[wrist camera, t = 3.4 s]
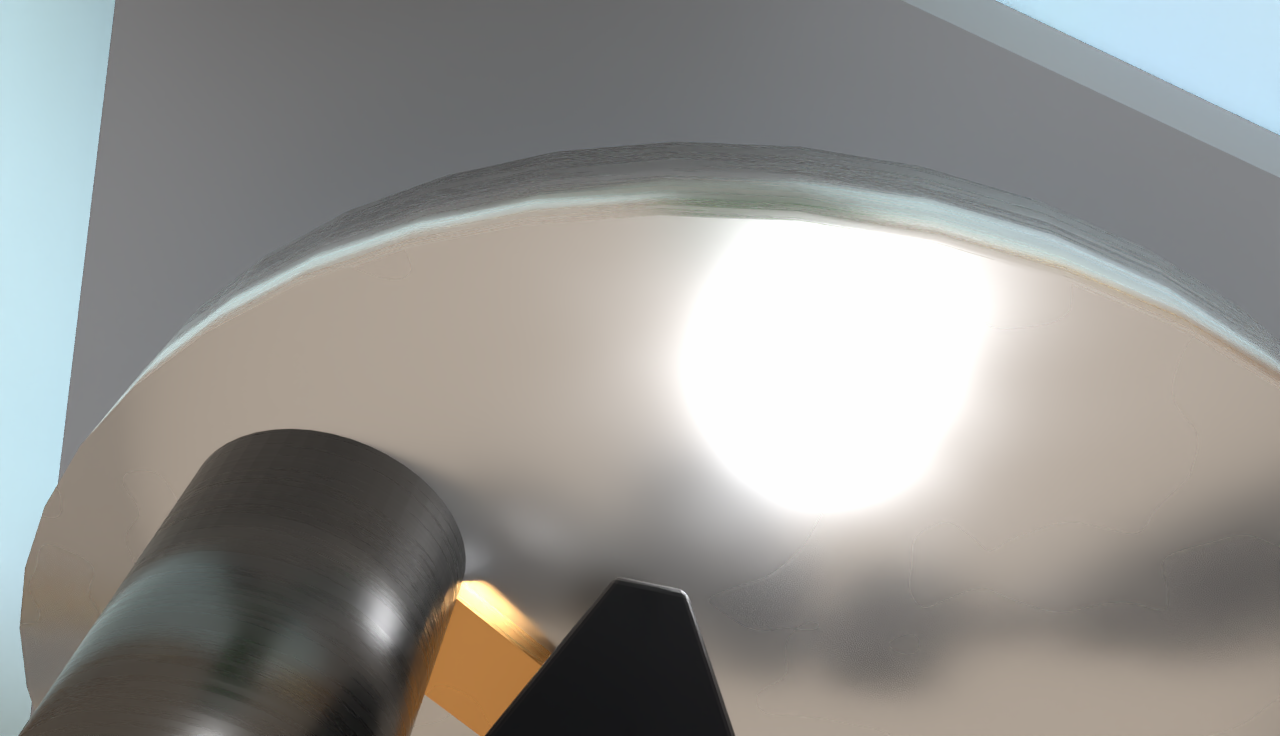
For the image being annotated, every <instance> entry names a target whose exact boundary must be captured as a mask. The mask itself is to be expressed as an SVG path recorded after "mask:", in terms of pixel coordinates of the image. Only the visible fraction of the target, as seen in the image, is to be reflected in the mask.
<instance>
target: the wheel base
mask: <svg viewBox="0 0 1280 736" xmlns="http://www.w3.org/2000/svg"><path fill="white" fill-rule="evenodd" d="M666 142H698V143H723V144H748V145H773V146H798V147H805V148H811V149H818V150H824V151H830V152H836V153H842V154H848V155H854V156H860V157H867V158H873V159H879V160H885V161H891V162H897V163H903V164H909V165H916V166H922V167H926V168H929V169H932V170H936V171H939V172H943V173H946V174H949V175H953V176H956V177H960V178H963V179H966V180H970V181H973V182H977V183H980V184H983V185H987V186H990V187H994V188H997V189H1000V190H1004V191H1007V192H1011V193H1014V194H1017V195H1021V196H1024V197H1028V198H1031V199H1034V200H1038V201H1041V202H1043V203H1045V204H1048V205H1050V206H1052V207H1054V208H1057V209H1059V210H1061V211H1063V212H1066V213H1068V214H1070V215H1072V216H1075V217H1077V218H1079V219H1081V220H1084V221H1086V222H1088V223H1090V224H1093V225H1095V226H1097V227H1099V228H1102V229H1104V230H1106V231H1109V232H1111V233H1113V234H1115V235H1118V236H1120V237H1122V238H1124V239H1127V240H1129V241H1131V242H1133V243H1136V244H1138V245H1140V246H1142V247H1145V248H1147V249H1148V250H1150V251H1152V252H1153V253H1155V254H1157V255H1158V256H1160V257H1161V258H1163V259H1165V260H1166V261H1168V262H1169V263H1171V264H1173V265H1174V266H1176V267H1177V268H1179V269H1181V270H1182V271H1184V272H1185V273H1187V274H1189V275H1190V276H1192V277H1193V278H1195V279H1197V280H1198V281H1200V282H1201V283H1203V284H1205V285H1206V286H1208V287H1209V288H1211V289H1213V290H1214V291H1216V292H1217V293H1219V294H1221V295H1222V296H1224V297H1225V298H1227V299H1229V300H1230V301H1232V302H1233V303H1235V304H1237V305H1238V306H1240V307H1241V308H1242V309H1243V310H1244V311H1245V312H1247V313H1248V314H1249V315H1250V316H1251V317H1252V318H1254V319H1255V320H1256V321H1257V322H1258V323H1259V324H1260V325H1262V326H1263V327H1264V328H1265V329H1266V330H1267V331H1269V332H1270V333H1271V334H1272V335H1273V336H1274V337H1276V338H1277V339H1278V340H1279V341H1280V135H1278V134H1275V133H1273V132H1271V131H1269V130H1267V129H1265V128H1263V127H1261V126H1259V125H1257V124H1254V123H1252V122H1250V121H1248V120H1246V119H1244V118H1242V117H1240V116H1238V115H1235V114H1233V113H1231V112H1229V111H1227V110H1225V109H1223V108H1221V107H1219V106H1217V105H1214V104H1212V103H1210V102H1208V101H1206V100H1204V99H1202V98H1200V97H1198V96H1196V95H1193V94H1191V93H1189V92H1187V91H1185V90H1183V89H1181V88H1179V87H1177V86H1174V85H1172V84H1170V83H1168V82H1166V81H1164V80H1162V79H1160V78H1158V77H1156V76H1153V75H1151V74H1149V73H1147V72H1145V71H1143V70H1141V69H1139V68H1137V67H1134V66H1132V65H1130V64H1128V63H1126V62H1124V61H1122V60H1120V59H1118V58H1116V57H1113V56H1111V55H1109V54H1107V53H1105V52H1103V51H1101V50H1099V49H1097V48H1094V47H1092V46H1090V45H1088V44H1086V43H1084V42H1082V41H1080V40H1078V39H1076V38H1073V37H1071V36H1069V35H1067V34H1065V33H1063V32H1061V31H1059V30H1057V29H1055V28H1052V27H1050V26H1048V25H1046V24H1044V23H1042V22H1040V21H1038V20H1036V19H1033V18H1031V17H1029V16H1027V15H1025V14H1023V13H1021V12H1019V11H1017V10H1015V9H1012V8H1010V7H1008V6H1006V5H1004V4H1002V3H1000V2H998V1H996V0H116V1H115V9H114V17H113V26H112V34H111V43H110V51H109V59H108V68H107V76H106V85H105V93H104V101H103V110H102V118H101V127H100V135H99V143H98V152H97V160H96V169H95V177H94V185H93V194H92V202H91V211H90V219H89V228H88V236H87V244H86V253H85V261H84V270H83V278H82V286H81V295H80V303H79V312H78V320H77V328H76V337H75V345H74V354H73V362H72V370H71V379H70V387H69V396H68V404H67V412H66V421H65V429H64V438H63V446H62V454H61V463H60V471H59V480H58V483H59V481H60V480H61V478H62V476H63V474H64V473H65V471H66V469H67V468H68V466H69V464H70V463H71V461H72V459H73V457H74V456H75V454H76V452H77V451H78V449H79V447H80V446H81V444H82V443H83V442H84V441H85V440H86V438H87V437H88V436H89V435H90V434H91V432H92V431H93V430H94V429H95V428H96V426H97V425H98V424H99V423H100V422H101V420H102V419H103V418H104V417H105V416H106V414H107V413H108V412H109V411H110V410H111V408H112V407H113V406H114V405H115V404H116V402H117V401H118V400H119V399H120V398H121V396H122V395H123V394H124V393H125V392H126V390H127V389H128V388H129V387H130V386H131V384H132V383H133V382H134V381H135V380H136V378H137V377H138V376H139V375H140V374H141V372H142V371H143V370H144V369H145V368H146V366H147V365H148V364H149V363H150V362H151V361H152V360H153V358H154V357H155V356H156V355H157V354H158V353H159V352H160V351H161V350H162V348H163V347H164V346H165V345H166V344H167V343H168V342H169V341H170V340H171V338H172V337H173V336H174V335H175V334H176V333H177V332H178V331H179V330H180V329H181V327H182V326H183V325H184V324H185V323H186V322H187V321H188V320H189V319H190V317H191V316H192V315H193V314H194V313H195V312H196V311H197V310H198V309H199V307H201V306H202V305H203V304H204V303H206V302H207V301H208V300H210V299H211V298H212V297H213V296H215V295H216V294H217V293H219V292H220V291H221V290H222V289H224V288H225V287H226V286H228V285H229V284H230V283H232V282H233V281H234V280H235V279H237V278H238V277H239V276H241V275H242V274H243V273H244V272H246V271H247V270H248V269H250V268H251V267H252V266H254V265H255V264H256V263H257V262H259V261H260V260H261V259H263V258H264V257H265V256H266V255H268V254H270V253H272V252H274V251H276V250H277V249H279V248H281V247H283V246H285V245H287V244H288V243H290V242H292V241H294V240H296V239H298V238H300V237H301V236H303V235H305V234H307V233H309V232H311V231H313V230H314V229H316V228H318V227H320V226H322V225H324V224H325V223H327V222H329V221H331V220H333V219H335V218H337V217H338V216H340V215H342V214H344V213H346V212H348V211H350V210H352V209H355V208H358V207H361V206H363V205H366V204H369V203H372V202H374V201H377V200H380V199H383V198H385V197H388V196H391V195H394V194H396V193H399V192H402V191H405V190H407V189H410V188H413V187H416V186H418V185H421V184H424V183H427V182H430V181H432V180H435V179H438V178H441V177H443V176H446V175H450V174H455V173H459V172H464V171H469V170H473V169H478V168H483V167H487V166H492V165H497V164H501V163H506V162H511V161H515V160H520V159H525V158H529V157H534V156H539V155H543V154H548V153H553V152H558V151H570V150H582V149H594V148H606V147H618V146H630V145H642V144H654V143H666ZM34 712H35V710H34V707H33V704H32V707H31V715H30V718H31V716H32V715H33V713H34Z"/></svg>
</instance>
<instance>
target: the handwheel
mask: <svg viewBox="0 0 1280 736" xmlns="http://www.w3.org/2000/svg"><path fill="white" fill-rule="evenodd" d="M618 577H625V578H630V579H635V580H640V581H645V582H650V583H654V584H659V585H664V586H669V587H673V588H678V589H681V590H683V591H684V592H685V593H686V594H687V595H688V597H689V599H690V601H691V604H692V607H693V610H694V613H695V616H696V619H697V622H698V625H699V628H700V631H701V634H702V637H703V640H704V643H705V646H706V649H707V652H708V655H709V658H710V661H711V664H712V667H713V670H714V673H715V676H716V679H717V682H718V685H719V688H720V691H721V694H722V697H723V700H724V703H725V706H726V709H727V712H728V715H729V718H730V721H731V724H732V727H733V730H734V733H735V736H1280V341H1279V340H1278V339H1277V338H1276V337H1274V336H1273V335H1272V334H1271V333H1270V332H1269V331H1267V330H1266V329H1265V328H1264V327H1263V326H1262V325H1260V324H1259V323H1258V322H1257V321H1256V320H1255V319H1254V318H1252V317H1251V316H1250V315H1249V314H1248V313H1247V312H1245V311H1244V310H1243V309H1242V308H1241V307H1240V306H1238V305H1237V304H1235V303H1233V302H1232V301H1230V300H1229V299H1227V298H1225V297H1224V296H1222V295H1221V294H1219V293H1217V292H1216V291H1214V290H1213V289H1211V288H1209V287H1208V286H1206V285H1205V284H1203V283H1201V282H1200V281H1198V280H1197V279H1195V278H1193V277H1192V276H1190V275H1189V274H1187V273H1185V272H1184V271H1182V270H1181V269H1179V268H1177V267H1176V266H1174V265H1173V264H1171V263H1169V262H1168V261H1166V260H1165V259H1163V258H1161V257H1160V256H1158V255H1157V254H1155V253H1153V252H1152V251H1150V250H1148V249H1147V248H1145V247H1142V246H1140V245H1138V244H1136V243H1133V242H1131V241H1129V240H1127V239H1124V238H1122V237H1120V236H1118V235H1115V234H1113V233H1111V232H1109V231H1106V230H1104V229H1102V228H1099V227H1097V226H1095V225H1093V224H1090V223H1088V222H1086V221H1084V220H1081V219H1079V218H1077V217H1075V216H1072V215H1070V214H1068V213H1066V212H1063V211H1061V210H1059V209H1057V208H1054V207H1052V206H1050V205H1048V204H1045V203H1043V202H1041V201H1038V200H1034V199H1031V198H1028V197H1024V196H1021V195H1017V194H1014V193H1011V192H1007V191H1004V190H1000V189H997V188H994V187H990V186H987V185H983V184H980V183H977V182H973V181H970V180H966V179H963V178H960V177H956V176H953V175H949V174H946V173H943V172H939V171H936V170H932V169H929V168H926V167H922V166H916V165H909V164H903V163H897V162H891V161H885V160H879V159H873V158H867V157H860V156H854V155H848V154H842V153H836V152H830V151H824V150H818V149H811V148H805V147H798V146H773V145H748V144H723V143H698V142H666V143H654V144H642V145H630V146H618V147H606V148H594V149H582V150H570V151H558V152H553V153H548V154H543V155H539V156H534V157H529V158H525V159H520V160H515V161H511V162H506V163H501V164H497V165H492V166H487V167H483V168H478V169H473V170H469V171H464V172H459V173H455V174H450V175H446V176H443V177H441V178H438V179H435V180H432V181H430V182H427V183H424V184H421V185H418V186H416V187H413V188H410V189H407V190H405V191H402V192H399V193H396V194H394V195H391V196H388V197H385V198H383V199H380V200H377V201H374V202H372V203H369V204H366V205H363V206H361V207H358V208H355V209H352V210H350V211H348V212H346V213H344V214H342V215H340V216H338V217H337V218H335V219H333V220H331V221H329V222H327V223H325V224H324V225H322V226H320V227H318V228H316V229H314V230H313V231H311V232H309V233H307V234H305V235H303V236H301V237H300V238H298V239H296V240H294V241H292V242H290V243H288V244H287V245H285V246H283V247H281V248H279V249H277V250H276V251H274V252H272V253H270V254H268V255H266V256H265V257H264V258H263V259H261V260H260V261H259V262H257V263H256V264H255V265H254V266H252V267H251V268H250V269H248V270H247V271H246V272H244V273H243V274H242V275H241V276H239V277H238V278H237V279H235V280H234V281H233V282H232V283H230V284H229V285H228V286H226V287H225V288H224V289H222V290H221V291H220V292H219V293H217V294H216V295H215V296H213V297H212V298H211V299H210V300H208V301H207V302H206V303H204V304H203V305H202V306H201V307H199V309H198V310H197V311H196V312H195V313H194V314H193V315H192V316H191V317H190V319H189V320H188V321H187V322H186V323H185V324H184V325H183V326H182V327H181V329H180V330H179V331H178V332H177V333H176V334H175V335H174V336H173V337H172V338H171V340H170V341H169V342H168V343H167V344H166V345H165V346H164V347H163V348H162V350H161V351H160V352H159V353H158V354H157V355H156V356H155V357H154V358H153V360H152V361H151V362H150V363H149V364H148V365H147V366H146V368H145V369H144V370H143V371H142V372H141V374H140V375H139V376H138V377H137V378H136V380H135V381H134V382H133V383H132V384H131V386H130V387H129V388H128V389H127V390H126V392H125V393H124V394H123V395H122V396H121V398H120V399H119V400H118V401H117V402H116V404H115V405H114V406H113V407H112V408H111V410H110V411H109V412H108V413H107V414H106V416H105V417H104V418H103V419H102V420H101V422H100V423H99V424H98V425H97V426H96V428H95V429H94V430H93V431H92V432H91V434H90V435H89V436H88V437H87V438H86V440H85V441H84V442H83V443H82V444H81V446H80V447H79V449H78V451H77V452H76V454H75V456H74V457H73V459H72V461H71V463H70V464H69V466H68V468H67V469H66V471H65V473H64V474H63V476H62V478H61V480H60V481H59V483H58V485H57V486H56V488H55V490H54V492H53V493H52V495H51V497H50V498H49V500H48V502H47V504H46V505H45V507H44V510H43V513H42V517H41V520H40V523H39V526H38V529H37V532H36V535H35V539H34V542H33V545H32V548H31V551H30V554H29V557H28V560H27V564H26V567H25V575H24V586H23V598H22V609H21V620H20V634H21V642H22V650H23V659H24V667H25V675H26V684H27V688H28V691H29V694H30V698H31V701H32V704H33V707H34V710H35V712H34V713H33V715H32V716H31V718H30V719H29V721H28V722H27V724H26V725H25V727H24V728H23V730H22V731H21V733H20V734H19V735H18V736H485V735H486V733H487V732H488V731H489V730H490V728H491V727H492V726H493V725H494V724H495V722H496V721H497V720H498V719H499V717H500V716H501V715H502V714H503V712H504V711H505V710H506V709H507V708H508V706H509V705H510V704H511V703H512V701H513V700H514V699H515V698H516V697H517V695H518V694H519V693H520V692H521V690H522V689H523V688H524V687H525V686H526V684H527V683H528V682H529V681H530V679H531V678H532V677H533V676H534V674H535V673H536V672H537V671H538V670H539V668H540V667H541V666H542V665H543V663H544V662H545V661H546V660H547V659H548V657H549V656H550V655H551V654H552V652H553V651H554V650H555V649H556V647H557V646H558V645H559V644H560V643H561V641H562V640H563V639H564V638H565V636H566V635H567V634H568V633H569V632H570V630H571V629H572V628H573V627H574V625H575V624H576V623H577V622H578V621H579V619H580V618H581V617H582V616H583V614H584V613H585V612H586V611H587V609H588V608H589V607H590V606H591V605H592V603H593V602H594V601H595V600H596V598H597V597H598V596H599V595H600V594H601V592H602V591H603V590H604V589H605V587H606V586H607V585H608V584H609V583H610V582H611V581H612V580H614V579H615V578H618Z"/></svg>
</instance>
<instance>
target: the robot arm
mask: <svg viewBox="0 0 1280 736" xmlns="http://www.w3.org/2000/svg"><path fill="white" fill-rule="evenodd" d="M485 736H735V733H734V730H733V727H732V724H731V721H730V718H729V715H728V712H727V709H726V706H725V703H724V700H723V697H722V694H721V691H720V688H719V685H718V682H717V679H716V676H715V673H714V670H713V667H712V664H711V661H710V658H709V655H708V652H707V649H706V646H705V643H704V640H703V637H702V634H701V631H700V628H699V625H698V622H697V619H696V616H695V613H694V610H693V607H692V604H691V601H690V599H689V597H688V595H687V594H686V593H685V592H684V591H683V590H681V589H678V588H673V587H669V586H664V585H659V584H654V583H650V582H645V581H640V580H635V579H630V578H625V577H618V578H615V579H614V580H612V581H611V582H610V583H609V584H608V585H607V586H606V587H605V589H604V590H603V591H602V592H601V594H600V595H599V596H598V597H597V598H596V600H595V601H594V602H593V603H592V605H591V606H590V607H589V608H588V609H587V611H586V612H585V613H584V614H583V616H582V617H581V618H580V619H579V621H578V622H577V623H576V624H575V625H574V627H573V628H572V629H571V630H570V632H569V633H568V634H567V635H566V636H565V638H564V639H563V640H562V641H561V643H560V644H559V645H558V646H557V647H556V649H555V650H554V651H553V652H552V654H551V655H550V656H549V657H548V659H547V660H546V661H545V662H544V663H543V665H542V666H541V667H540V668H539V670H538V671H537V672H536V673H535V674H534V676H533V677H532V678H531V679H530V681H529V682H528V683H527V684H526V686H525V687H524V688H523V689H522V690H521V692H520V693H519V694H518V695H517V697H516V698H515V699H514V700H513V701H512V703H511V704H510V705H509V706H508V708H507V709H506V710H505V711H504V712H503V714H502V715H501V716H500V717H499V719H498V720H497V721H496V722H495V724H494V725H493V726H492V727H491V728H490V730H489V731H488V732H487V733H486V735H485Z"/></svg>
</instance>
